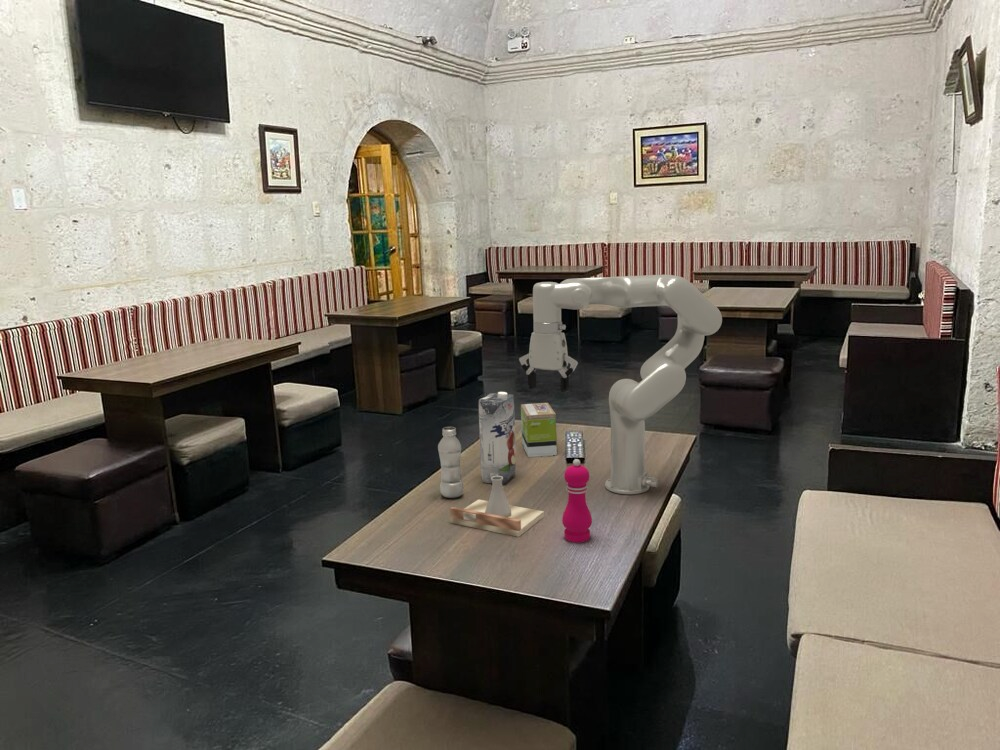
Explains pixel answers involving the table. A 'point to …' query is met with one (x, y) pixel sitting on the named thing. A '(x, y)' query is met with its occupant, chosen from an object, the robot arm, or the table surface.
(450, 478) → the plastic bottle
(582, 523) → the pepper mill
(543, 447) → the tea box
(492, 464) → the juice carton
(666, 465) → the table surface
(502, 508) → the flask
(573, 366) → the robot arm
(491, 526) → the shelf board
